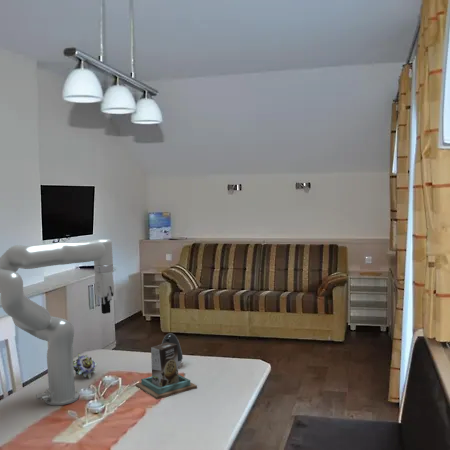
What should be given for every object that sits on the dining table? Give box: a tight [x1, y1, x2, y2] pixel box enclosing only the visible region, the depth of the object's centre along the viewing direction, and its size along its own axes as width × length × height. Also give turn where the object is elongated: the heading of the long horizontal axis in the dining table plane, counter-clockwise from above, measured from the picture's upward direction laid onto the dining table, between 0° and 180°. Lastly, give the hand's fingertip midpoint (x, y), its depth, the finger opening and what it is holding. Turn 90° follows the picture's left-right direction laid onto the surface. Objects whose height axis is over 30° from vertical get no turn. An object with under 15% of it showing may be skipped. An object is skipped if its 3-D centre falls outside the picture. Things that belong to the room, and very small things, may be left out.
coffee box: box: [150, 342, 179, 388], centre depth 217 cm, size 9×6×16 cm
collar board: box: [135, 373, 198, 400], centre depth 218 cm, size 18×18×3 cm
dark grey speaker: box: [161, 332, 184, 367], centre depth 242 cm, size 10×10×15 cm
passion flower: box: [73, 353, 98, 379], centre depth 235 cm, size 11×11×12 cm
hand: (106, 312), depth 225 cm, fingers closed
